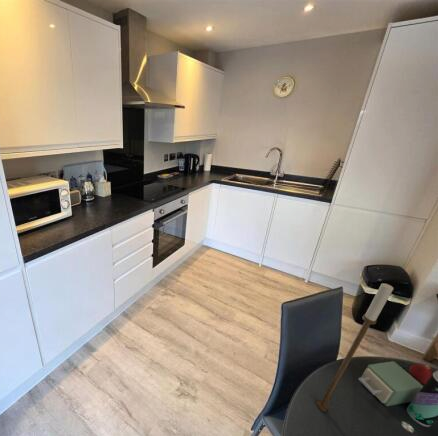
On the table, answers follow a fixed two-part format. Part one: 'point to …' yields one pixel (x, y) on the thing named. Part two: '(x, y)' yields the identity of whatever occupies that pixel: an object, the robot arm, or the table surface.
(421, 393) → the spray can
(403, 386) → the green drawer box
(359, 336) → the candlestick
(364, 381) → the fryer drawer
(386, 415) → the table surface
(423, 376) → the onion
